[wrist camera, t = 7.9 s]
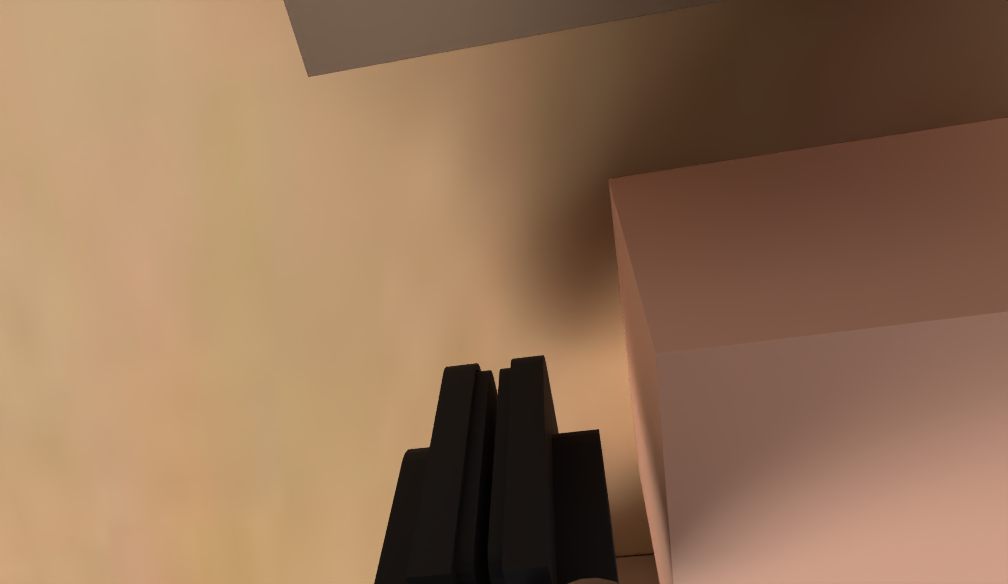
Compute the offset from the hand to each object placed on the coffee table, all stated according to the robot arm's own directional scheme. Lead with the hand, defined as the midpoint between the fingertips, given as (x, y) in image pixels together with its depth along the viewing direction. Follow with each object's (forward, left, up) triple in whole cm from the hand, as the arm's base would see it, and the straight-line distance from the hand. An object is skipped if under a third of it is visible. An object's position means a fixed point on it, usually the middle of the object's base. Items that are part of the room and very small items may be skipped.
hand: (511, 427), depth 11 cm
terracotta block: (-6, 0, -2) cm, 6 cm away
